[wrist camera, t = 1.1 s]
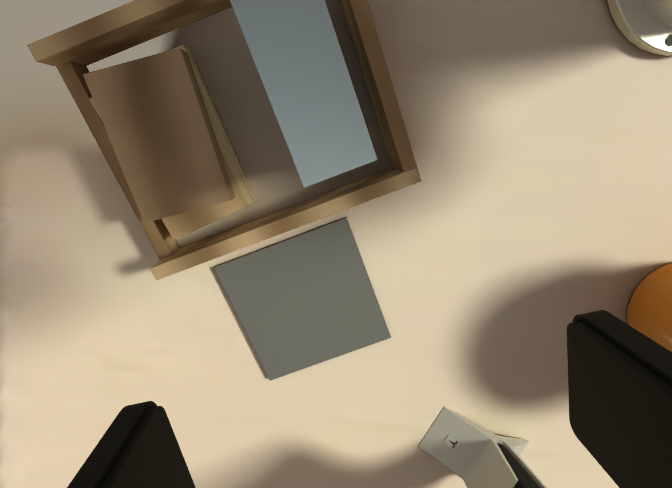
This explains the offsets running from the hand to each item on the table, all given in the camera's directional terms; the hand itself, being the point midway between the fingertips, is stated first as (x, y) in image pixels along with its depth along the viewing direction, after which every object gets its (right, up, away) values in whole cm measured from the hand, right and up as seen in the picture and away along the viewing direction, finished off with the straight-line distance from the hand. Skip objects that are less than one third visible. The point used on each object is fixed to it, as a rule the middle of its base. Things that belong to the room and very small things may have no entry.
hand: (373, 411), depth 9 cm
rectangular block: (-3, +15, +21) cm, 26 cm away
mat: (-4, -1, +26) cm, 26 cm away
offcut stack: (-13, +12, +21) cm, 28 cm away
